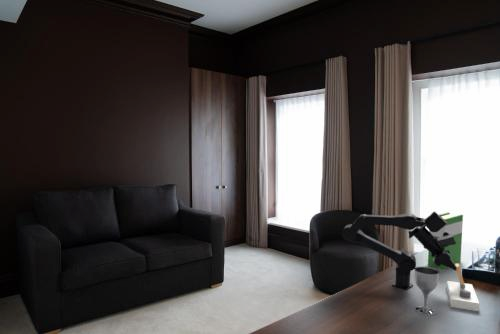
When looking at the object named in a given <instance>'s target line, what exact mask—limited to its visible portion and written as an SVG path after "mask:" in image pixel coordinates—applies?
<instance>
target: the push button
mask: <svg viewBox="0 0 500 334" xmlns="http://www.w3.org/2000/svg"><path fill="white" fill-rule="evenodd" d="M460 296H462V297H466V298H469V297H471V292H469V291H466V290H460Z"/></svg>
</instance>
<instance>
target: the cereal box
mask: <svg viewBox="0 0 500 334" xmlns="http://www.w3.org/2000/svg"><path fill="white" fill-rule="evenodd" d="M438 215H439V216H441V217H442V218H443V219H444V220H445V221H446V222H447V225H446V226H444V227H443V228H442V229H440V230H439V231H438V232H431V231H430V230H429V229H428V231H429V232H430V233H431V234H432V235H433V236H436V237H437V238H440V237H441V236H442V237H443V233H444V232H447V233H449V234H453V236H454V238H455V241H456V244H455V245H449V246H447V247H445V249H444V250H445V251H447V250H449V252H450V256H451V257H450V258H451V260H452V261H453V263H454V264H456V263H458V264H460V263H461V261H462V258H461V257H462V242H463V240H462V239H463V222H464V219H463V218H464V215H463V214H458V215H455V214H451V213H450V212H444V213H440V214H439V213H438ZM427 251H428V250H427ZM427 254H428V255H427V265H428V266H431V267H435V268H436V269H442V270H445V269H446V268H448V267H446V266H444V265H442V264H441V265H440V266H438V267H437V266H436V265H435V264H434V261H433V259H434V257H435V256H434V257H432V256H431V253H430V252H429V251H428V253H427Z"/></svg>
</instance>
